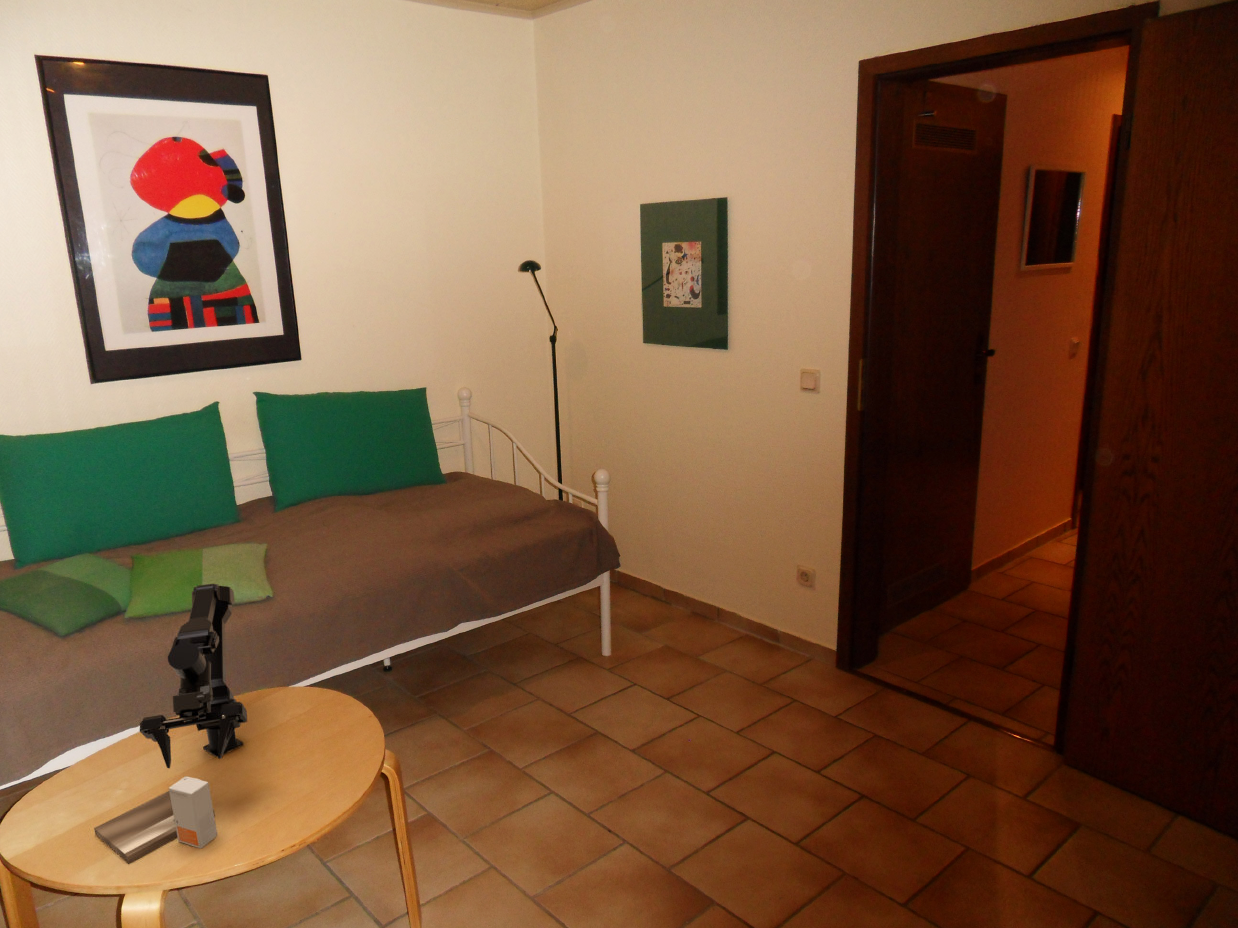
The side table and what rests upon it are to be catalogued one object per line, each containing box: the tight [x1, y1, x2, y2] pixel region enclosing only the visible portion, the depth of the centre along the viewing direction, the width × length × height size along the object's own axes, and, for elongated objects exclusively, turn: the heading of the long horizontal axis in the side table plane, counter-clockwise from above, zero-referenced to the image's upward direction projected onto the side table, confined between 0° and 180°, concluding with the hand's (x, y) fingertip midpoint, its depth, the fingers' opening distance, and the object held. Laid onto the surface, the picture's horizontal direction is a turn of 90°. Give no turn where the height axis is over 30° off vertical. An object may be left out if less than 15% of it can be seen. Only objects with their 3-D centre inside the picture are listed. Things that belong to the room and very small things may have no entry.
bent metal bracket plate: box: [93, 790, 216, 864], centre depth 169 cm, size 14×16×2 cm
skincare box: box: [168, 775, 218, 849], centre depth 163 cm, size 6×4×12 cm
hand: (194, 763), depth 168 cm, fingers open, 9 cm apart
